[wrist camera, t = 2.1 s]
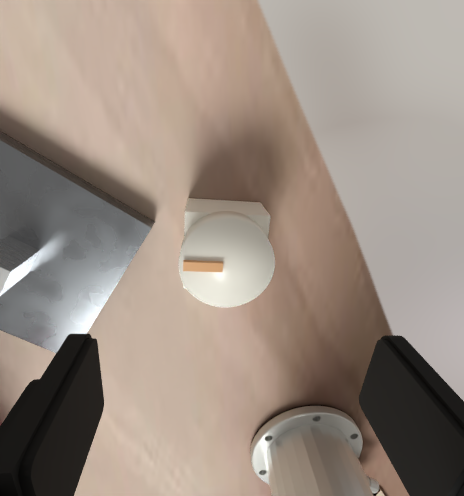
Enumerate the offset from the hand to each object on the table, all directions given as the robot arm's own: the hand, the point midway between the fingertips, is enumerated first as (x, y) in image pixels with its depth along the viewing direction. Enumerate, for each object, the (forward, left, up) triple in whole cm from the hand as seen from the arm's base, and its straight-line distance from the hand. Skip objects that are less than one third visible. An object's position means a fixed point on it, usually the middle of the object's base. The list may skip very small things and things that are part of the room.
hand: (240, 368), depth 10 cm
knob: (0, 0, -15) cm, 15 cm away
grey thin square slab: (+12, +9, -15) cm, 21 cm away
